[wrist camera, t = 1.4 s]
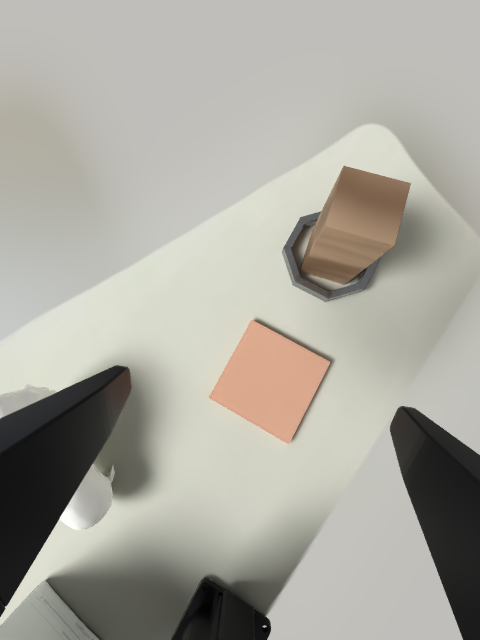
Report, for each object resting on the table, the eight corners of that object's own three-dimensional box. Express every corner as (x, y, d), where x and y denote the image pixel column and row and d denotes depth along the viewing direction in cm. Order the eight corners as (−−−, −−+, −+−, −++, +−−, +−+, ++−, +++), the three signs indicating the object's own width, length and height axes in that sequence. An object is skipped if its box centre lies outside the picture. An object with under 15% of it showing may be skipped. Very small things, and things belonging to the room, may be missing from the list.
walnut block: (344, 284, 26) (394, 245, 17) (299, 271, 26) (325, 226, 17) (356, 242, 26) (410, 183, 17) (312, 230, 27) (343, 165, 18)
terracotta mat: (287, 442, 24) (288, 444, 23) (209, 396, 25) (208, 397, 24) (328, 362, 25) (330, 362, 24) (251, 320, 25) (251, 319, 25)
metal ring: (348, 314, 25) (353, 311, 24) (270, 273, 26) (271, 269, 25) (386, 240, 26) (392, 234, 25) (309, 203, 27) (312, 196, 26)
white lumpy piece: (-16, 385, 17) (100, 542, 16) (68, 369, 25) (146, 472, 25) (-104, 451, 16) (13, 614, 16) (12, 412, 25) (90, 518, 24)
